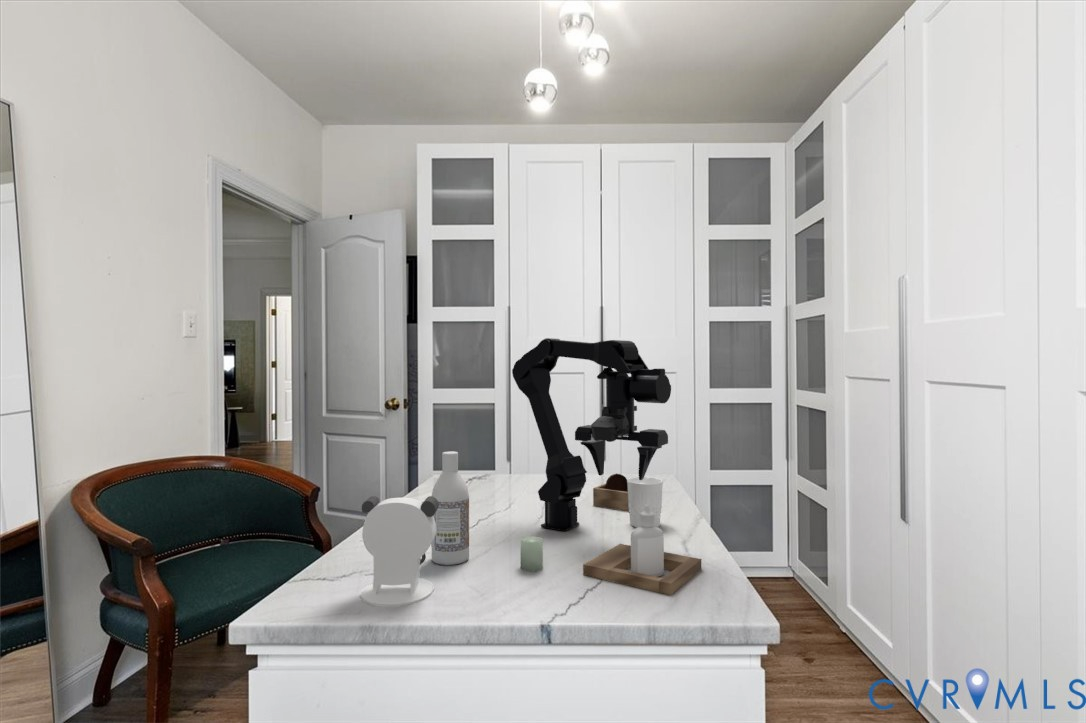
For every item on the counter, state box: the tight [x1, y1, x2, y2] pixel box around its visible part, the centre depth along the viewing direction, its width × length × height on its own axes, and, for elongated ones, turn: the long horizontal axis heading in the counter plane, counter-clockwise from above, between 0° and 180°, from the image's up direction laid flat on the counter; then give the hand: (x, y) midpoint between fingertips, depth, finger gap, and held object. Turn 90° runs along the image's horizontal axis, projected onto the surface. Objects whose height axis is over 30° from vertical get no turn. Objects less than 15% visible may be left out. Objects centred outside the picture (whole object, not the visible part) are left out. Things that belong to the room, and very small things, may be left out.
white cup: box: [627, 476, 663, 528], centre depth 134 cm, size 8×8×10 cm
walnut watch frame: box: [592, 483, 629, 512], centre depth 153 cm, size 11×11×4 cm
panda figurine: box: [360, 495, 439, 608], centre depth 95 cm, size 12×11×15 cm
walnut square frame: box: [582, 543, 702, 596], centre depth 104 cm, size 16×14×2 cm
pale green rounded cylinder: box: [519, 536, 544, 573], centre depth 107 cm, size 4×4×5 cm
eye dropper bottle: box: [630, 505, 665, 578], centre depth 103 cm, size 4×6×12 cm
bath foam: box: [430, 450, 470, 566], centre depth 111 cm, size 7×7×20 cm
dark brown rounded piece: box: [605, 473, 628, 492], centre depth 153 cm, size 8×8×7 cm
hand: (620, 477), depth 122 cm, fingers open, 9 cm apart
